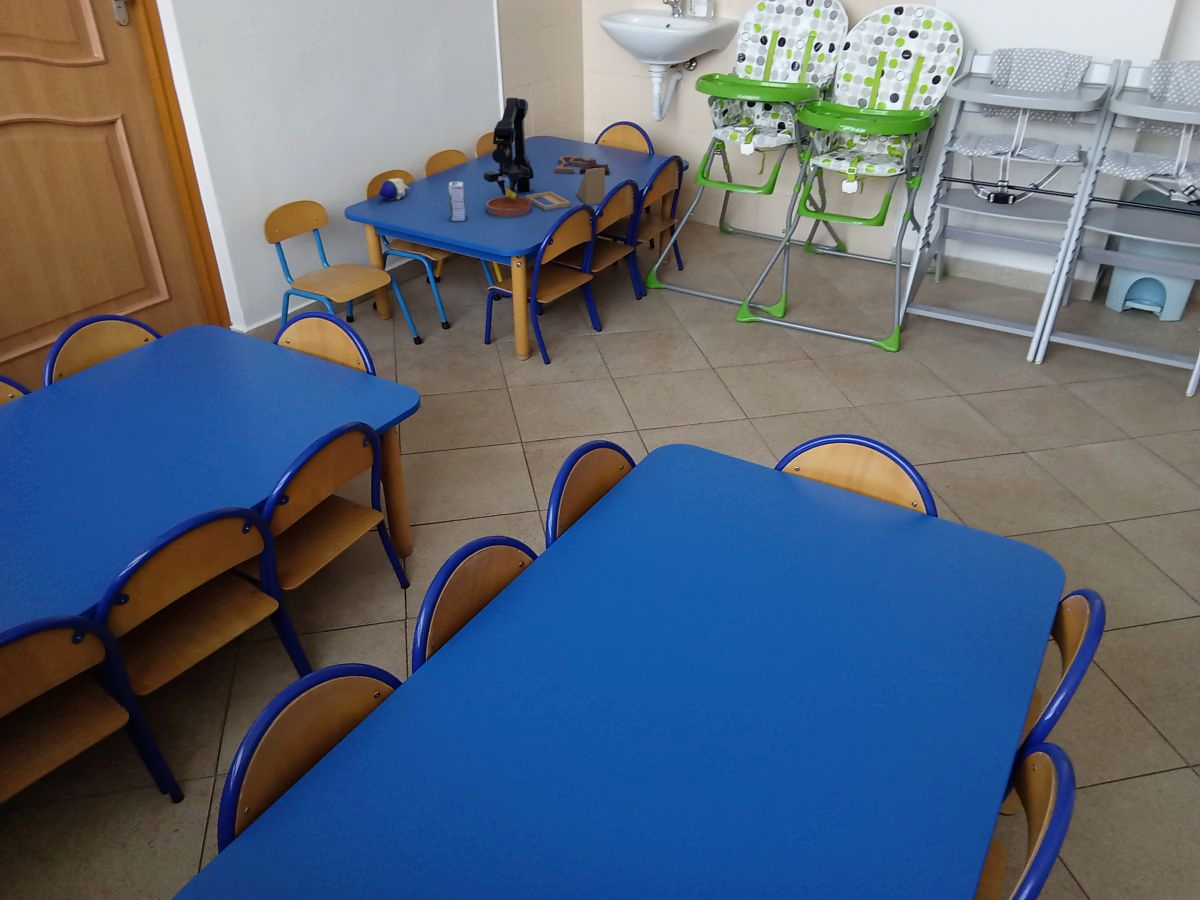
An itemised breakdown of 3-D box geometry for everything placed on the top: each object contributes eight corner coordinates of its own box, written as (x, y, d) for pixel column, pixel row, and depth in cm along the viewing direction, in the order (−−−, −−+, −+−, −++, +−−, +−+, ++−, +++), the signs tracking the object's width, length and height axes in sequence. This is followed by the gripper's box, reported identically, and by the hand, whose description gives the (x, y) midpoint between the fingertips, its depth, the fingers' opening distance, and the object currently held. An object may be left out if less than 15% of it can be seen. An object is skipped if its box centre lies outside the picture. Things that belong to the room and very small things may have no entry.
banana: (498, 193, 376) (498, 186, 374) (506, 192, 378) (505, 185, 376) (511, 201, 368) (510, 193, 366) (518, 199, 369) (518, 192, 368)
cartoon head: (411, 199, 398) (384, 210, 383) (395, 185, 399) (367, 196, 383) (418, 183, 393) (391, 194, 377) (402, 170, 394) (374, 180, 378)
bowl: (480, 208, 379) (479, 200, 377) (518, 201, 387) (518, 193, 385) (498, 220, 365) (498, 212, 364) (538, 212, 373) (538, 205, 372)
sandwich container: (594, 192, 397) (594, 158, 388) (605, 202, 384) (605, 167, 376) (575, 194, 394) (575, 160, 386) (586, 204, 382) (585, 169, 374)
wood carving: (608, 175, 420) (616, 161, 439) (608, 170, 419) (616, 157, 438) (550, 172, 424) (560, 159, 444) (550, 168, 423) (560, 155, 442)
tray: (525, 200, 388) (525, 195, 387) (550, 195, 393) (550, 191, 392) (544, 211, 375) (544, 206, 374) (569, 206, 380) (569, 201, 379)
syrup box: (451, 216, 369) (448, 181, 361) (466, 216, 369) (463, 181, 362) (451, 221, 364) (447, 185, 356) (465, 220, 365) (462, 185, 357)
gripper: (493, 164, 354) (496, 203, 362) (535, 158, 362) (536, 196, 371) (481, 158, 362) (484, 196, 370) (522, 152, 370) (524, 189, 379)
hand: (508, 194), depth 372 cm, fingers closed on banana, 3 cm apart
